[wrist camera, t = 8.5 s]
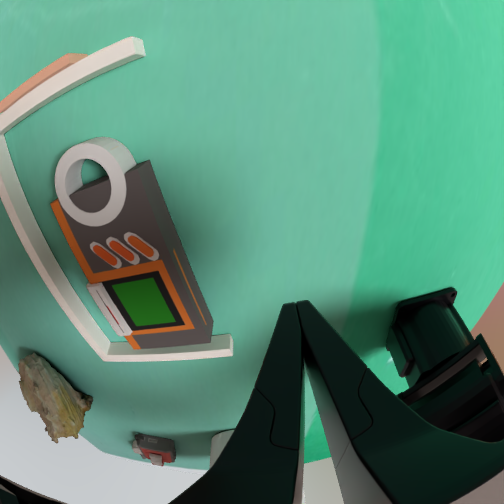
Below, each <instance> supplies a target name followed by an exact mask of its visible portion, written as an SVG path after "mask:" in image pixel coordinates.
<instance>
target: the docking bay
mask: <svg viewBox="0 0 504 504" xmlns="http://www.w3.org/2000/svg"><path fill="white" fill-rule="evenodd" d="M144 56H146V54H145V49H144V45H143V40H142V39H139V38H136V37H133V36H131V37H128V38H126V39H123V40H121V41H119V42H116V43H114V44H112V45H110V46H108V47H105V48H103V49H101V50H99V51H97V52H95V53H93V54H91V55H89V56H88V55H87V54H75V53H68V54H66V55H64V56H63V57H61V58H59V59H58V60H56V61H55V62H53V63H51V64H50V65H48V66H47V67H45V68H44V69H42V70H41V71H40V72H38V73H37V74H35V75H34V76H32V77H31V78H30V79H28V80H27V81H26V82H24V83H23V84H22V85H20V86H19V87H18V88H17V89H15V90H14V91H13V92H12V93H10V94H9V95H8V96H7V97H6V98H4V99H3V100H2V101H1V102H0V113H2V112H3V113H2V114H1V115H0V197H1V200H2V202H3V204H4V207H5V209H6V211H7V213H8V216H9V218H10V220H11V222H12V224H13V226H14V228H15V230H16V232H17V235H18V236H19V238H20V240H21V242H22V244H23V246H24V248H25V250H26V252H27V253H28V255H29V257H30V259H31V261H32V262H33V264H34V266H35V268H36V269H37V271H38V273H39V274H40V276H41V277H42V279H43V281H44V282H45V284H46V285H47V287H48V289H49V290H50V292H51V293H52V295H53V296H54V298H55V299H56V301H57V302H58V304H59V305H60V306H61V308H62V309H63V311H64V312H65V313H66V315H67V316H68V318H69V319H70V320H71V322H72V323H73V324H74V326H75V327H76V328H77V330H78V331H79V332H80V333H81V335H82V336H83V337H84V338H85V340H86V341H87V342H88V343H89V345H90V346H91V347H92V348H93V349H94V351H95V352H96V353H97V354H98V355H99V356H100V358H101V359H102V360H103V361H112V362H140V361H172V360H190V359H204V358H216V357H227V356H233V339H232V337H231V334H224V335H215V336H212V337H211V343H206V344H197V345H187V346H176V347H165V348H151V349H136V350H134V349H133V348H132V346H131V345H130V344H129V342H110V341H109V339H108V338H107V337H106V335H105V334H104V333H103V331H102V330H101V329H100V327H99V326H98V325H97V323H96V322H95V320H94V319H93V318H92V316H91V315H90V313H89V312H88V310H87V309H86V307H85V306H84V304H83V303H82V301H81V300H80V298H79V297H78V295H77V294H76V292H75V291H74V289H73V288H72V286H71V284H70V283H69V281H68V279H67V278H66V276H65V274H64V273H63V271H62V269H61V268H60V266H59V264H58V262H57V261H56V259H55V257H54V255H53V253H52V251H51V250H50V248H49V246H48V244H47V242H46V240H45V238H44V236H43V234H42V232H41V230H40V228H39V226H38V224H37V222H36V220H35V217H34V215H33V213H32V211H31V209H30V206H29V204H28V202H27V199H26V197H25V195H24V192H23V190H22V187H21V185H20V182H19V179H18V177H17V174H16V171H15V168H14V165H13V163H12V160H11V157H10V153H9V150H8V147H7V144H6V140H5V137H4V133H6V132H7V131H8V130H10V129H11V128H12V127H14V126H15V125H16V124H18V123H19V122H20V121H22V120H23V119H25V118H26V117H28V116H29V115H30V114H32V113H33V112H35V111H36V110H38V109H39V108H41V107H43V106H44V105H46V104H47V103H49V102H51V101H52V100H54V99H56V98H57V97H59V96H61V95H62V94H64V93H66V92H68V91H69V90H71V89H73V88H75V87H77V86H79V85H81V84H83V83H84V82H86V81H88V80H90V79H92V78H95V77H97V76H99V75H101V74H103V73H105V72H107V71H110V70H112V69H114V68H116V67H119V66H121V65H124V64H126V63H128V62H131V61H134V60H136V59H139V58H141V57H144Z"/></svg>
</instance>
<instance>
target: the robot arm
mask: <svg viewBox="0 0 504 504" xmlns="http://www.w3.org/2000/svg"><path fill="white" fill-rule="evenodd" d="M456 295H457V291H456V289H455V288H451V289H448V290H444V291H441V292H437V293H434V294H430V295H427V296H423V297H420V298H416V299H412V300H408V301H404V302H401V303H399V304H398V305H397V307H396V311H395V315H394V319H393V323H392V325H391V327H390V331H389V335H388V338H387V342H386V343H387V344H386V349H387V351H390V353H391V356H392V358H393V361H394V363H395V366H396V369H397V371H398V374H399V376H400V377H405V378H406V380H407V383H408V386H409V389H407V390H406V391H404V392H401V393H399V394H398V395H395V394H394V393H393V392H391V391H390V390H389V389H388V388H387V387H386V386H385V385H384V384H383V383H382V382H381V381H380V380H379V379H378V378H377V376H376V375H375V374H374V373H373V372H372V371H371V370H370V369H369V368H367V365H366V364H365V363H364V362H363V361H362V360H361V359H360V357H359V356H358V355H357V354H356V353H355V352H354V351H353V350H352V348H351V347H350V346H349V345H348V344H347V343H346V342H345V341H344V339H343V338H342V337H341V336H340V335H339V334H338V333H337V332H336V330H335V329H334V328H333V327H332V326H331V325H330V324H329V323H328V321H327V320H326V319H325V318H324V317H323V316H322V315H321V314H320V313H319V311H318V310H317V309H316V308H315V307H314V306H313V305H312V304H311V303H310V301H308V300H304V301H298V302H296V303H294V302H292V303H286V304H283V306H282V308H281V311H280V314H279V317H278V320H277V323H276V326H275V329H274V332H273V335H272V338H271V341H270V344H269V347H268V350H267V353H266V355H265V358H264V361H263V364H262V367H261V369H260V372H259V375H258V378H257V381H256V383H255V386H254V387H255V388H254V389H253V391H252V394H251V396H250V399H249V401H248V404H247V406H246V408H245V411H244V413H243V415H242V417H241V419H240V421H239V423H238V424H237V426H236V428H235V430H234V432H233V433H232V435H231V437H230V438H229V440H228V442H227V444H226V445H225V447H224V449H223V450H222V452H221V454H220V455H219V457H218V458H217V460H216V461H215V463H214V464H213V465H212V467H211V468H210V469H209V470H208V471H207V472H206V473H205V474H204V475H203V476H202V477H201V478H200V479H199V480H197V481H196V482H195V483H194V484H193V485H191V486H190V487H189V488H188V489H186V490H185V491H184V492H183V493H181V494H180V495H179V496H178V497H176V498H175V499H174V500H172V501H171V502H170V503H168V504H302V490H303V467H304V430H305V375H304V362H305V367H306V370H307V374H308V377H309V380H310V384H311V387H312V390H313V394H314V397H315V401H316V404H317V407H318V411H319V414H320V418H321V421H322V425H323V428H324V432H325V435H326V439H327V442H328V446H329V449H330V453H331V456H332V460H333V464H334V467H335V469H336V470H335V471H336V475H337V478H338V482H339V486H340V489H341V493H342V497H343V501H344V504H504V373H503V371H502V369H501V367H500V365H499V363H498V362H497V360H496V358H495V356H494V354H493V352H492V351H491V349H490V347H489V346H488V344H487V342H486V341H485V339H484V337H483V336H482V334H481V333H480V334H479V335H478V336H477V337H476V339H475V340H474V338H473V336H472V335H471V333H470V331H469V330H468V328H467V326H466V325H465V323H464V322H463V320H462V318H461V317H460V315H459V314H458V312H457V310H456V309H455V307H454V306H453V303H454V300H455V298H456ZM486 357H487V359H488V360H487V361H486V362H484V363H483V364H482V365H481V363H480V362H481V361H483V360H484V359H485V358H486ZM0 504H67V503H64V502H61V501H58V500H55V499H53V498H50V497H47V496H45V495H42V494H39V493H37V492H34V491H32V490H30V489H28V488H25V487H23V486H21V485H19V484H17V483H15V482H12V481H11V480H8V479H7V478H4V477H2V476H1V475H0Z"/></svg>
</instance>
